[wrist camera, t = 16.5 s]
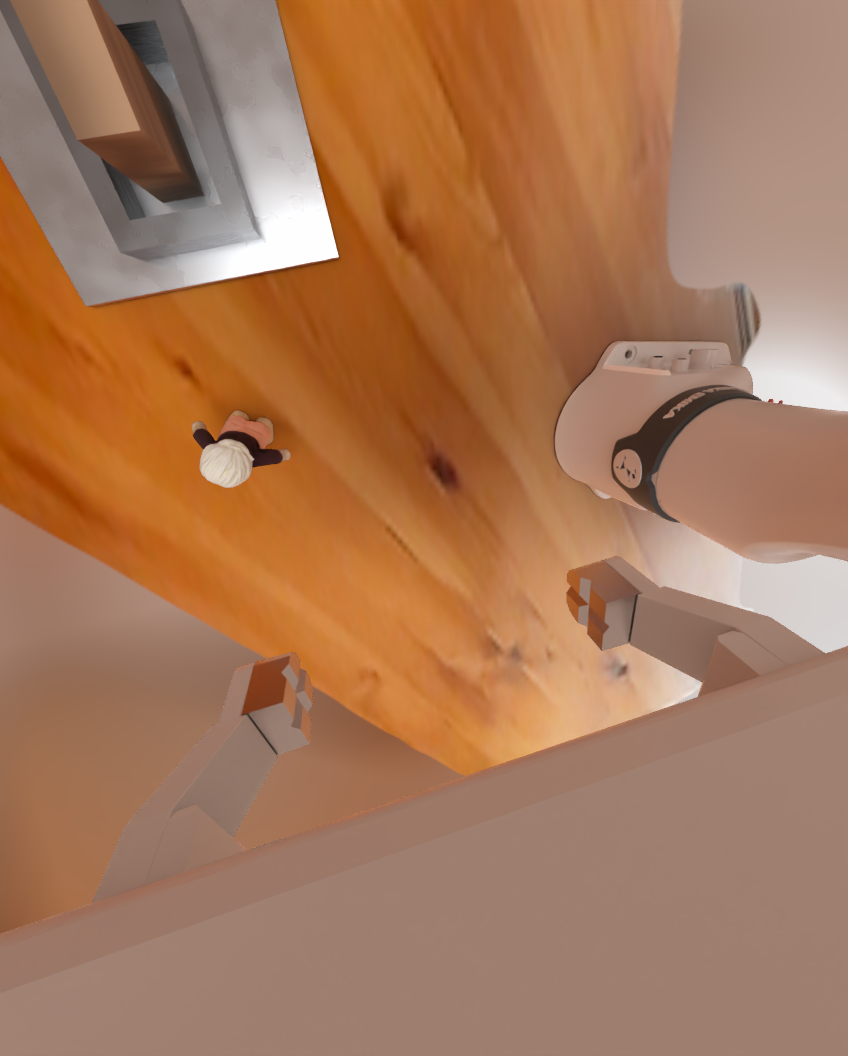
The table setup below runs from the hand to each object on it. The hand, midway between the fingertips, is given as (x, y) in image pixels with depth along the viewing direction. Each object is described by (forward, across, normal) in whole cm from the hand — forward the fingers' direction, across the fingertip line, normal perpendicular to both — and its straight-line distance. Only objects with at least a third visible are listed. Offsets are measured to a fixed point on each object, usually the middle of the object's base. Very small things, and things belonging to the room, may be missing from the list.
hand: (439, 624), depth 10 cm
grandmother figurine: (+31, +11, -1) cm, 33 cm away
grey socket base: (+31, +9, -20) cm, 38 cm away
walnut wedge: (+30, +9, -20) cm, 37 cm away
